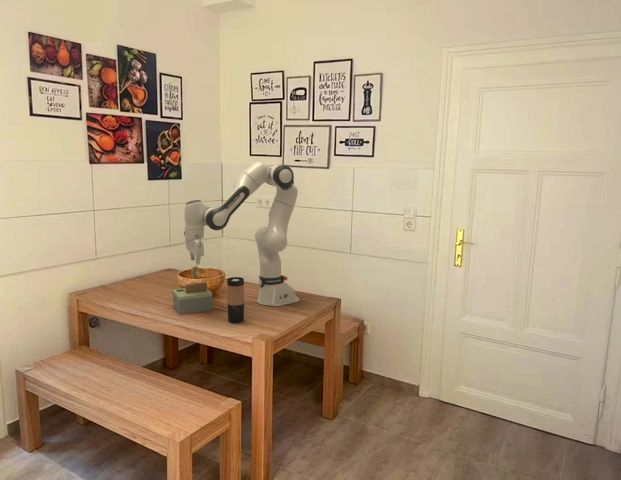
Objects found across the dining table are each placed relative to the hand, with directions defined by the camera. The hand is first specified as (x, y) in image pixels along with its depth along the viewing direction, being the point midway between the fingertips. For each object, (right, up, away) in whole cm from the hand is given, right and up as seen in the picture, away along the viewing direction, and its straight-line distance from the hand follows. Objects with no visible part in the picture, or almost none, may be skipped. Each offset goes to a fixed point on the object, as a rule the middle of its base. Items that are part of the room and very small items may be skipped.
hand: (195, 262), depth 227 cm
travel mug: (+21, -27, -9) cm, 36 cm away
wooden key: (-5, -21, +23) cm, 32 cm away
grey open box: (-2, -24, +5) cm, 24 cm away
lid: (-2, -16, +3) cm, 17 cm away
